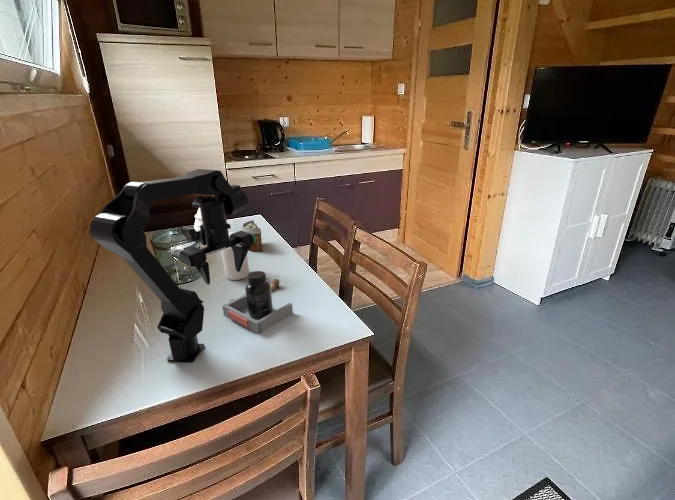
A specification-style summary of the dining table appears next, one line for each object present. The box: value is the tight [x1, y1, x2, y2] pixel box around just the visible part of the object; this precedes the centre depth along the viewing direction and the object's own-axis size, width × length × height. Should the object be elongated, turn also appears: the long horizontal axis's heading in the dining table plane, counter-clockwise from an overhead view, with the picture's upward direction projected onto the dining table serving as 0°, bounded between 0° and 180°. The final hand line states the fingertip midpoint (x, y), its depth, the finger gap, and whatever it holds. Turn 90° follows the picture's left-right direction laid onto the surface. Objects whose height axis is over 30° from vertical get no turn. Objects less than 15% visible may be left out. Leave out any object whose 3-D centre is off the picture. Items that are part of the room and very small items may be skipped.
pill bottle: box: [221, 231, 250, 281], centre depth 126 cm, size 8×8×15 cm
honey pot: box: [193, 207, 207, 247], centre depth 158 cm, size 13×13×18 cm
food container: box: [241, 219, 263, 253], centre depth 150 cm, size 12×6×10 cm, turn 25°
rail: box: [229, 278, 281, 302], centre depth 114 cm, size 18×2×2 cm, turn 140°
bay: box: [222, 293, 294, 334], centre depth 105 cm, size 13×15×3 cm
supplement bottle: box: [244, 270, 274, 320], centre depth 104 cm, size 7×7×12 cm
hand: (223, 277), depth 98 cm, fingers open, 9 cm apart
